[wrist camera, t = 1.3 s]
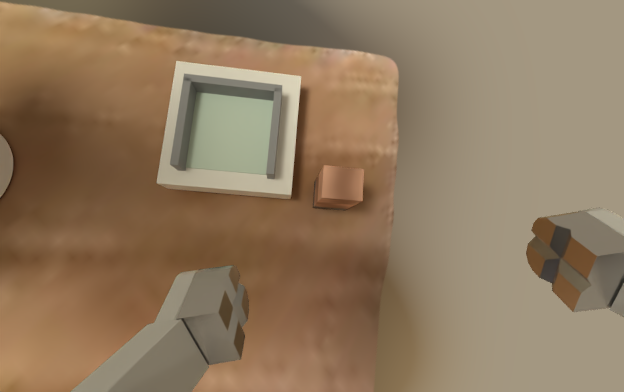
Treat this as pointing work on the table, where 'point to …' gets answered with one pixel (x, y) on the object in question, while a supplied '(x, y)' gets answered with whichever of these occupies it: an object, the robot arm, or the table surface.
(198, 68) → the bay dock
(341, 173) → the block
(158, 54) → the table surface
